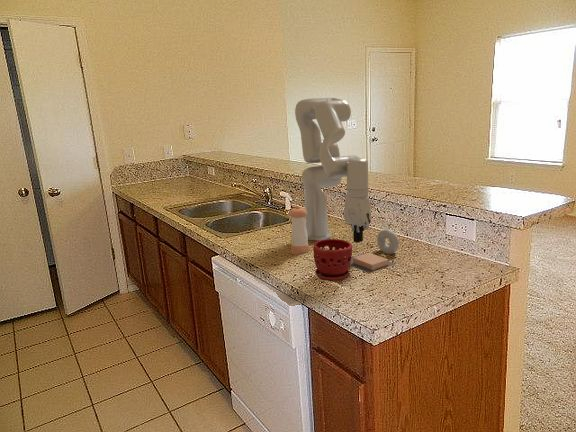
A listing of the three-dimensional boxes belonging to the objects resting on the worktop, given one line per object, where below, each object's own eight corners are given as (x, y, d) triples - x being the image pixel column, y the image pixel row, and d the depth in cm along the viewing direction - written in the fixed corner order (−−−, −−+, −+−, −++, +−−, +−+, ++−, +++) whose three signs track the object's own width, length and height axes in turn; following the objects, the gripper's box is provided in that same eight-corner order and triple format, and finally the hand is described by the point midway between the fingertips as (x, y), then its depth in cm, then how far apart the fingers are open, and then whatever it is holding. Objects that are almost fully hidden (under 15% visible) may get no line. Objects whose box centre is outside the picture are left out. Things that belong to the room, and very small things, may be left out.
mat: (338, 263, 164) (338, 261, 164) (364, 255, 171) (364, 253, 171) (368, 275, 151) (368, 273, 151) (395, 266, 158) (395, 264, 158)
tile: (352, 257, 161) (372, 264, 152) (368, 252, 165) (388, 259, 157) (352, 263, 161) (372, 270, 153) (368, 258, 165) (388, 265, 157)
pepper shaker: (307, 255, 174) (305, 208, 170) (289, 255, 176) (287, 208, 171) (310, 249, 181) (308, 204, 176) (293, 249, 183) (290, 204, 178)
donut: (375, 252, 174) (374, 227, 171) (381, 250, 176) (381, 225, 173) (394, 258, 166) (394, 232, 163) (400, 256, 168) (401, 231, 165)
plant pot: (332, 287, 143) (330, 252, 140) (306, 276, 153) (305, 243, 150) (360, 277, 150) (360, 243, 147) (334, 267, 161) (333, 235, 158)
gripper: (336, 191, 162) (337, 239, 167) (364, 197, 150) (364, 248, 155) (351, 188, 166) (352, 235, 171) (380, 194, 154) (380, 244, 159)
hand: (358, 241), depth 163 cm, fingers closed
